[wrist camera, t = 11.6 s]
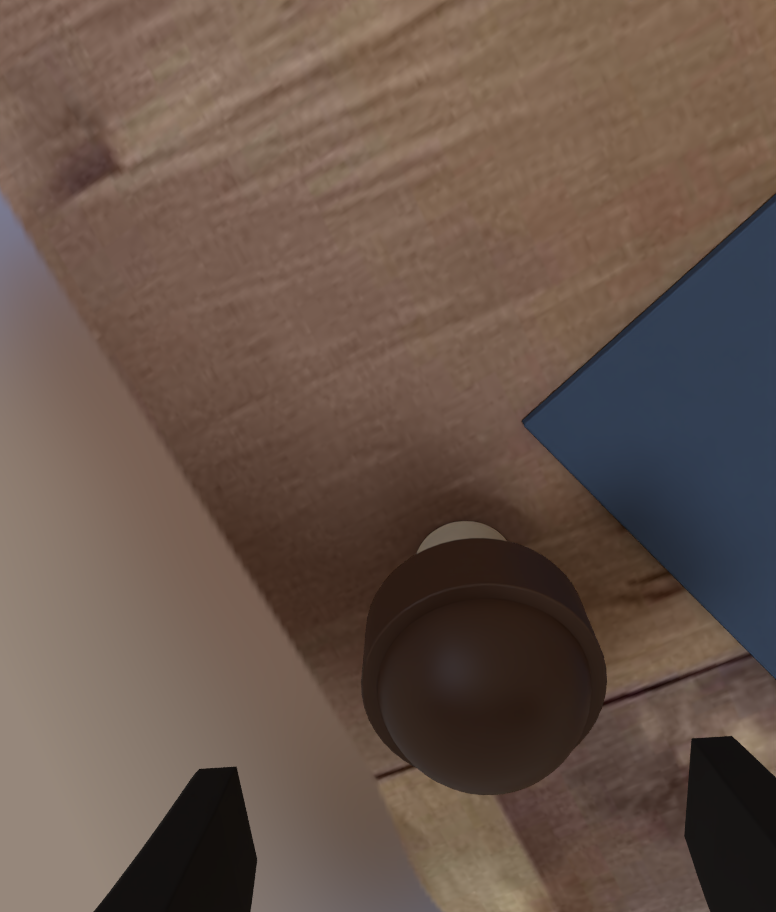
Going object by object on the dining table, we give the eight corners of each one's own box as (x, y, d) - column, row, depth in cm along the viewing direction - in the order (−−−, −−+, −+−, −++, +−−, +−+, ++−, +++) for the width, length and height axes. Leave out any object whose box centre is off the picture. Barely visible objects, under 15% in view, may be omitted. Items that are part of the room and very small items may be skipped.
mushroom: (379, 646, 21) (368, 863, 14) (363, 485, 19) (341, 649, 12) (556, 637, 21) (628, 854, 14) (557, 473, 19) (642, 633, 12)
